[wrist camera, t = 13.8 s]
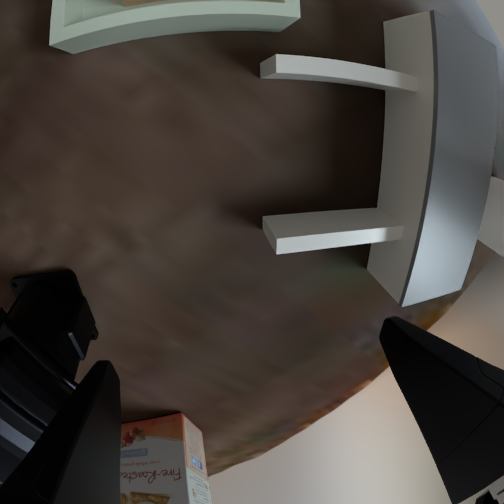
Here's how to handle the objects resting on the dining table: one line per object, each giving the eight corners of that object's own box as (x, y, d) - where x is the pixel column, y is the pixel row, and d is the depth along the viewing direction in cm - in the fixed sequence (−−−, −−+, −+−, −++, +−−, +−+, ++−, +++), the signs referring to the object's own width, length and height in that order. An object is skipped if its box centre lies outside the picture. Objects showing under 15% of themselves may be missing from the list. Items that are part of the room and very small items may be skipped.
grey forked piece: (447, 45, 15) (496, 46, 11) (424, 258, 25) (460, 289, 20) (258, 0, 13) (284, -34, 8) (263, 285, 22) (283, 333, 18)
